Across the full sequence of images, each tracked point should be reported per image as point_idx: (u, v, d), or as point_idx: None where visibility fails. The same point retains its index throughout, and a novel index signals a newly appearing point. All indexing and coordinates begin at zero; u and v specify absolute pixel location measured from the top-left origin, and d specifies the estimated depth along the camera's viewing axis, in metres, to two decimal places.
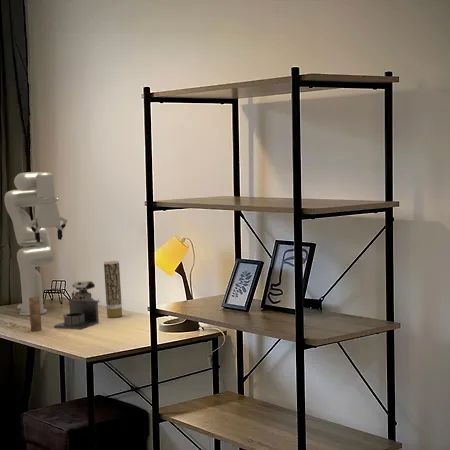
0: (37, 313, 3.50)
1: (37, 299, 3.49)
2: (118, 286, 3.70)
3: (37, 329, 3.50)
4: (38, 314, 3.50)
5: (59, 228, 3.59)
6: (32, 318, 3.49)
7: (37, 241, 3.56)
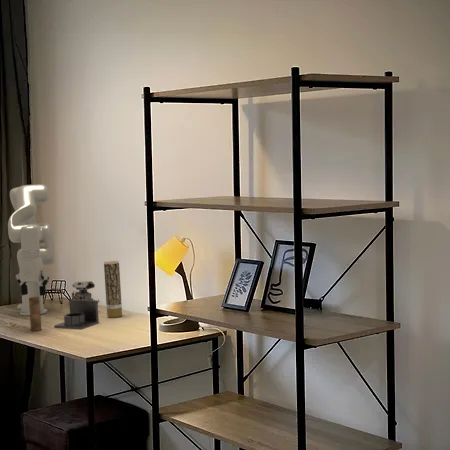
0: (37, 313, 3.50)
1: (37, 299, 3.49)
2: (118, 286, 3.70)
3: (37, 329, 3.50)
4: (38, 314, 3.50)
5: (26, 282, 3.53)
6: (32, 318, 3.49)
7: (43, 294, 3.48)
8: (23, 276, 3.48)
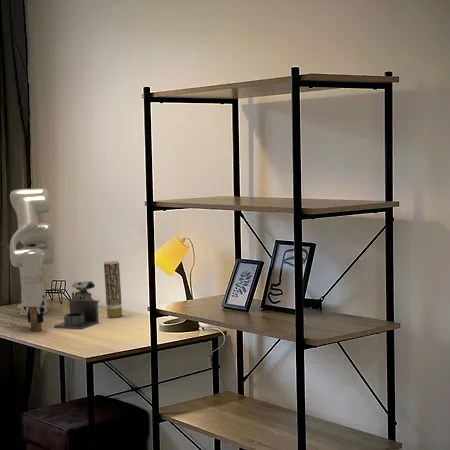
0: (37, 313, 3.50)
1: None
2: (118, 286, 3.70)
3: (37, 329, 3.50)
4: None
5: None
6: (32, 318, 3.49)
7: (40, 322, 3.50)
8: (25, 301, 3.49)
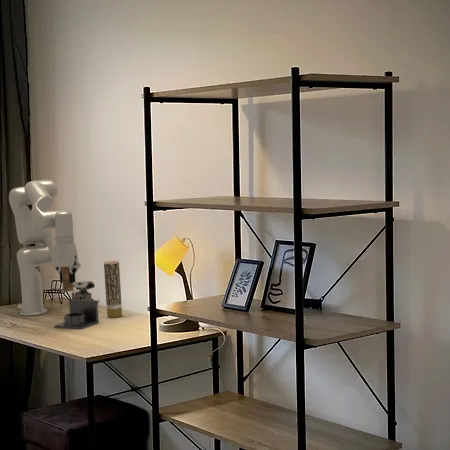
0: (69, 273, 3.52)
1: None
2: (118, 286, 3.70)
3: (69, 289, 3.52)
4: None
5: None
6: (64, 278, 3.52)
7: (73, 282, 3.53)
8: (57, 261, 3.52)
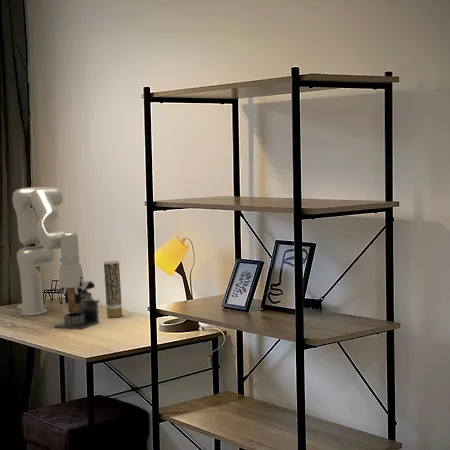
0: (75, 294, 3.53)
1: None
2: (118, 286, 3.70)
3: (75, 310, 3.54)
4: None
5: None
6: (70, 299, 3.53)
7: None
8: (63, 282, 3.53)
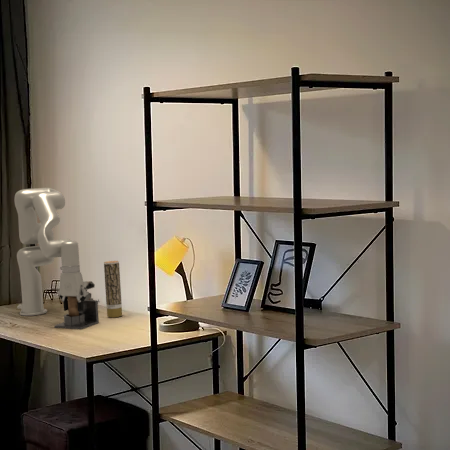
0: (75, 306, 3.54)
1: None
2: (118, 286, 3.70)
3: None
4: (76, 308, 3.55)
5: None
6: (71, 312, 3.54)
7: (81, 310, 3.54)
8: (63, 290, 3.54)
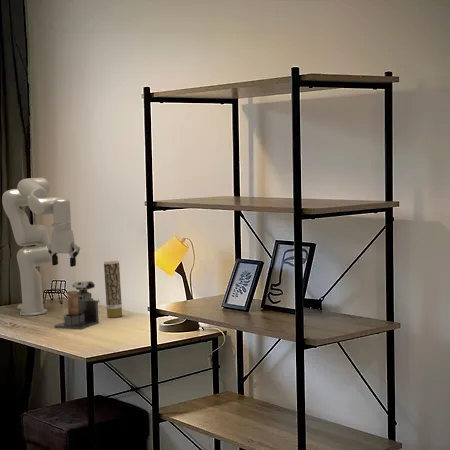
0: (75, 307, 3.54)
1: (75, 293, 3.54)
2: (118, 286, 3.70)
3: None
4: (76, 308, 3.54)
5: None
6: (70, 312, 3.54)
7: None
8: (54, 247, 3.59)
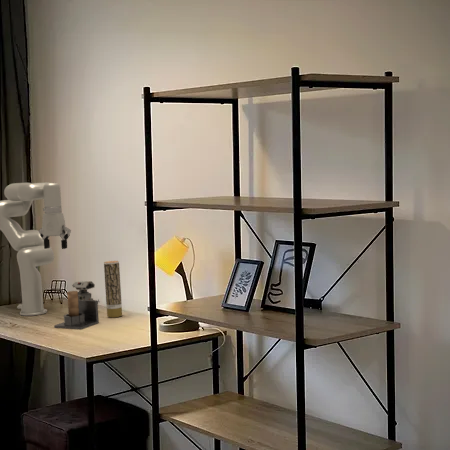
0: (75, 307, 3.54)
1: (75, 293, 3.54)
2: (118, 286, 3.70)
3: None
4: (76, 308, 3.54)
5: (48, 237, 3.73)
6: (71, 312, 3.54)
7: (64, 248, 3.68)
8: (46, 230, 3.68)
